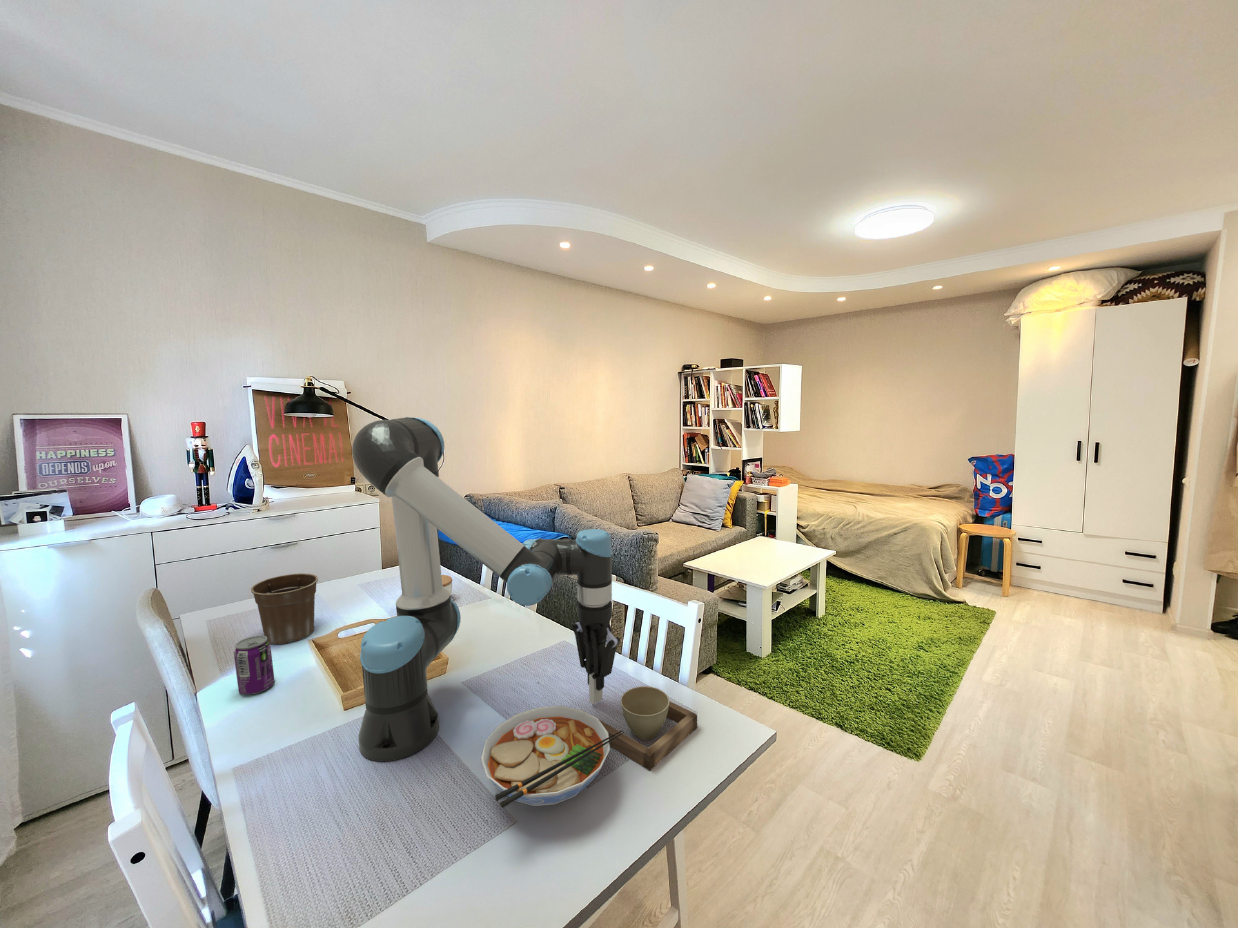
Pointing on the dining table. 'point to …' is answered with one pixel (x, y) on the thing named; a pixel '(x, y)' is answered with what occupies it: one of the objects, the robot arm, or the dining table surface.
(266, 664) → the beverage can
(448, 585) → the lidded jar
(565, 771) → the ramen bowl
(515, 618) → the dining table surface
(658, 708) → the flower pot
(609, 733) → the walnut bay
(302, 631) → the plant pot
